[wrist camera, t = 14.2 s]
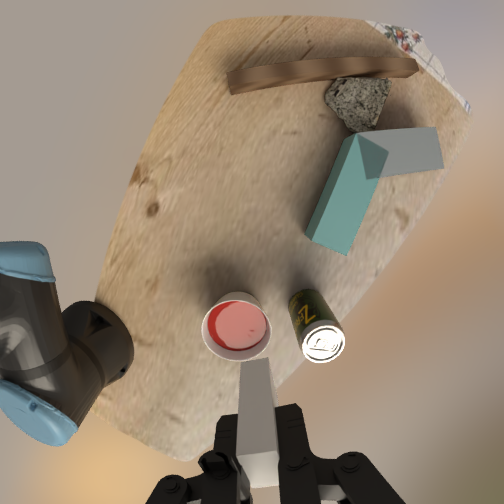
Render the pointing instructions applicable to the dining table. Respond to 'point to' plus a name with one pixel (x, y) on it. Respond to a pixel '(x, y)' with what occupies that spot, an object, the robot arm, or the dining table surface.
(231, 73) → the walnut wall
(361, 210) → the grey teal angled block
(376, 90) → the rock sample
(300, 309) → the beer can
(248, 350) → the white cup
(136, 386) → the dining table surface
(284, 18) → the dining table surface
